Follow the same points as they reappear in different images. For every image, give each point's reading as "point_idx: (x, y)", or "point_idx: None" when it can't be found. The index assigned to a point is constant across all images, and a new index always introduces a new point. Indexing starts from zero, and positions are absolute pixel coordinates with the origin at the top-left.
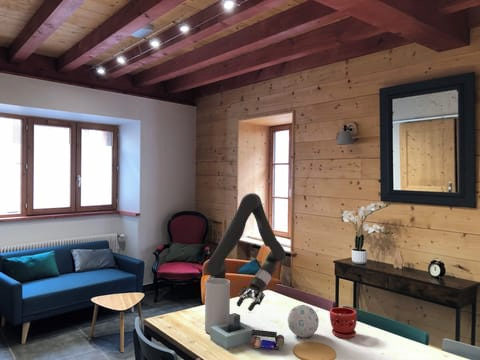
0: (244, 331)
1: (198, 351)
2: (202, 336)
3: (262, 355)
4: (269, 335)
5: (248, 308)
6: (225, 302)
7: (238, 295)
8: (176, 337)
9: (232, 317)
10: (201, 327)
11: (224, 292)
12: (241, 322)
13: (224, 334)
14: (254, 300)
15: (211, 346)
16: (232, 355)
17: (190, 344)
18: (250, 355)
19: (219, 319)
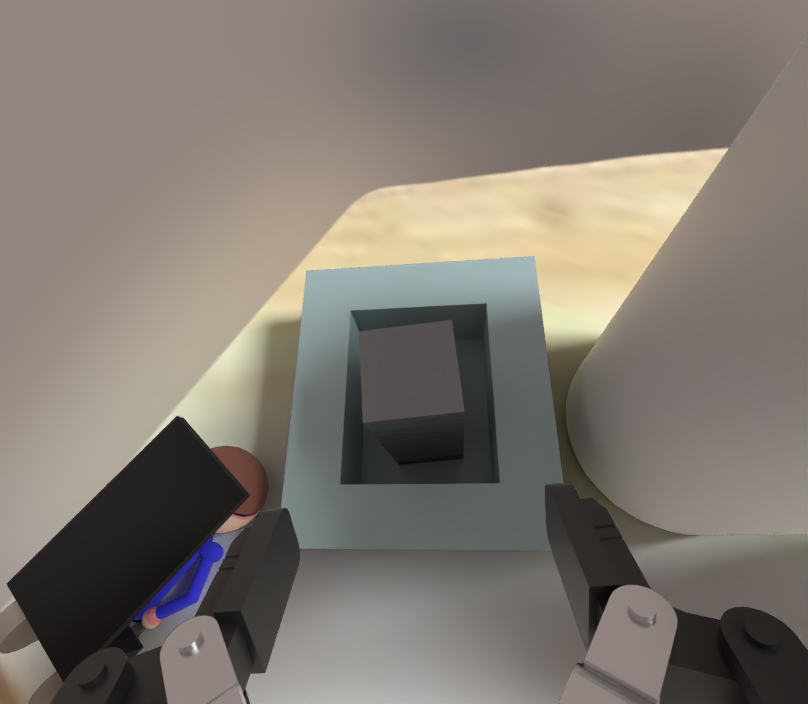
0: (295, 431)
1: (412, 195)
2: (602, 289)
3: (138, 451)
4: (61, 540)
5: (273, 510)
6: (677, 335)
7: (753, 613)
8: (658, 164)
9: (383, 333)
10: None
11: (775, 200)
12: (498, 550)
13: (347, 276)
14: (165, 664)
15: None
16: (260, 310)
17: (518, 192)
18: (190, 391)
19: (599, 343)
